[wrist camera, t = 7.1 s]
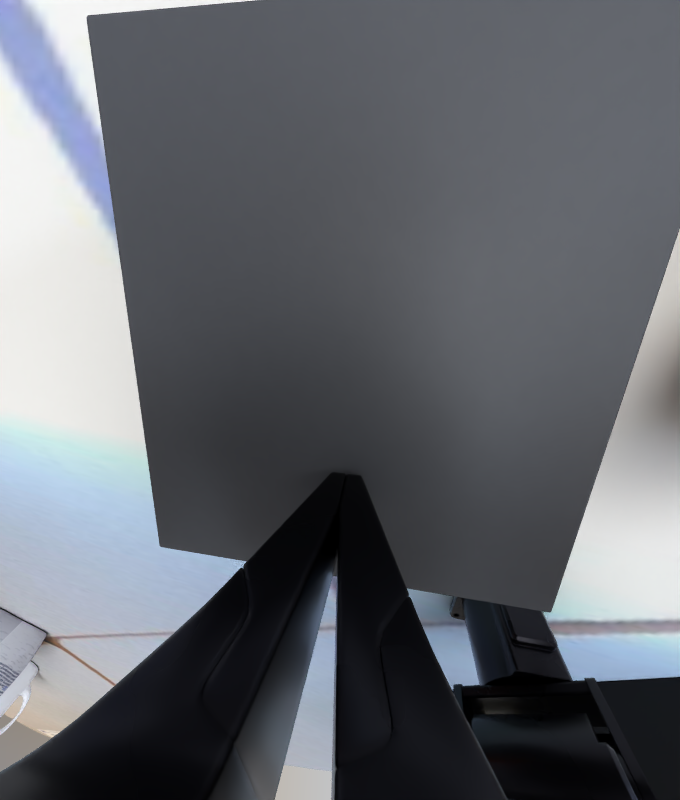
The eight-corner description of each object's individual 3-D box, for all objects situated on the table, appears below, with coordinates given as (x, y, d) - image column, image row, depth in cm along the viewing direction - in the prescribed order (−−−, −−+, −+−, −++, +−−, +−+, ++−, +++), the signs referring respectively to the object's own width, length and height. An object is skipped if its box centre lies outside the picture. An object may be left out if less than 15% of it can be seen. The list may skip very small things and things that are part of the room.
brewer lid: (536, 588, 9) (551, 614, 8) (175, 530, 10) (159, 547, 9) (715, 8, 5) (775, -49, 4) (119, 50, 7) (84, 13, 6)
